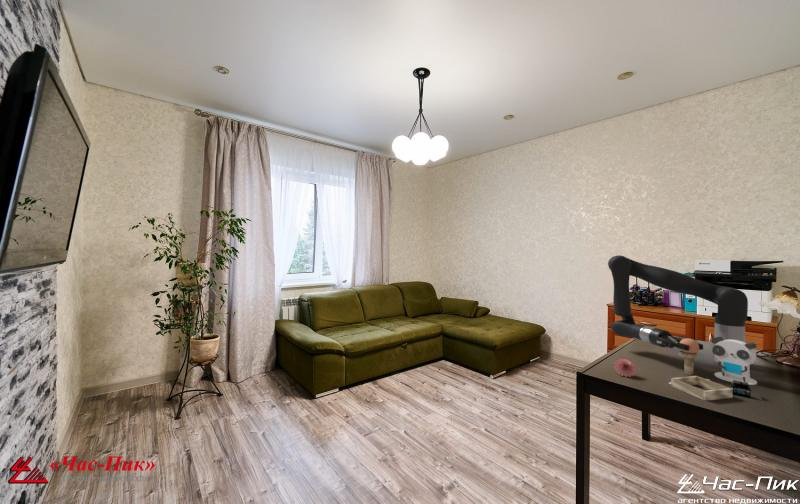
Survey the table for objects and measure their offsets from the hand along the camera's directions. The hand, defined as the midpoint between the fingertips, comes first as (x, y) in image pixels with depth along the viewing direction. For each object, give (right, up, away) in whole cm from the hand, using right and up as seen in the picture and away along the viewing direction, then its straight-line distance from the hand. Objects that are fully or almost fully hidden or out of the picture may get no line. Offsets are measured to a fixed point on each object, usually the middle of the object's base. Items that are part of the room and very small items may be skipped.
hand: (695, 347), depth 125 cm
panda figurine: (+13, -11, -2) cm, 17 cm away
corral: (-11, -12, -13) cm, 21 cm away
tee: (0, -11, +2) cm, 12 cm away
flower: (-27, -12, +2) cm, 29 cm away
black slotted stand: (+1, -12, -15) cm, 20 cm away
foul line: (-7, -11, -5) cm, 14 cm away
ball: (0, 0, +2) cm, 2 cm away
